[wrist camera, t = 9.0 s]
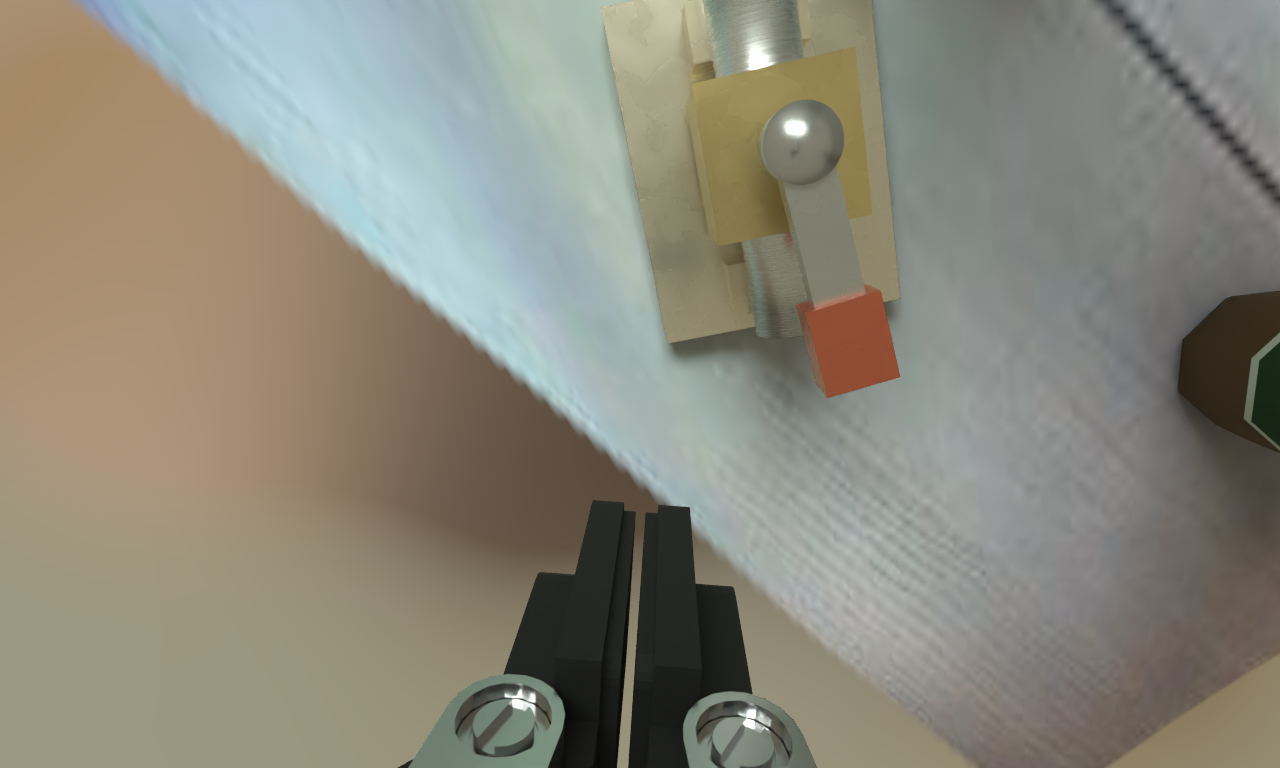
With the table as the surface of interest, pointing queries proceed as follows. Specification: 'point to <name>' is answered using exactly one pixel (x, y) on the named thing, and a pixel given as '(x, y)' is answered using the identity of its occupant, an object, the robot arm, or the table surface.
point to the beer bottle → (1237, 367)
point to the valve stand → (744, 149)
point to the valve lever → (826, 251)
